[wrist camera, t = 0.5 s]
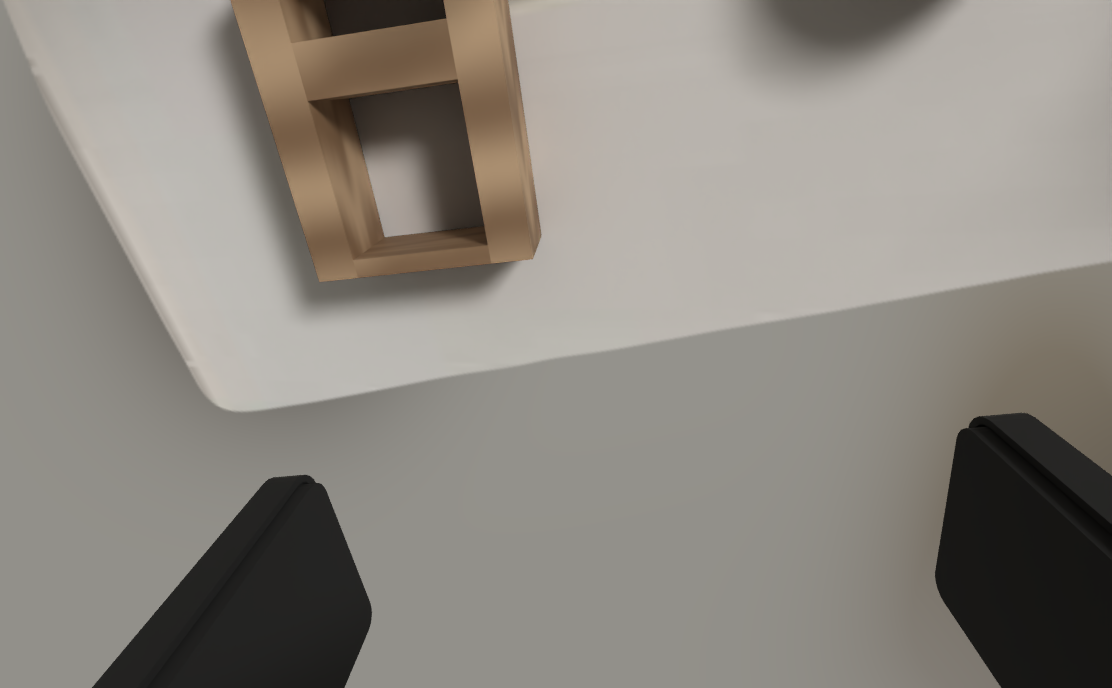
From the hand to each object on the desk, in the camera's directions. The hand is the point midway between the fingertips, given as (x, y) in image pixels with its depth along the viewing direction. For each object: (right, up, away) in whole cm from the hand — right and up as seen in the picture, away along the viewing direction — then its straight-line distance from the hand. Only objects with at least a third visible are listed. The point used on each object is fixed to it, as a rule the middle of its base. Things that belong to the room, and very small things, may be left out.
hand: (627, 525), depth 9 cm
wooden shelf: (-9, +16, +23) cm, 30 cm away
